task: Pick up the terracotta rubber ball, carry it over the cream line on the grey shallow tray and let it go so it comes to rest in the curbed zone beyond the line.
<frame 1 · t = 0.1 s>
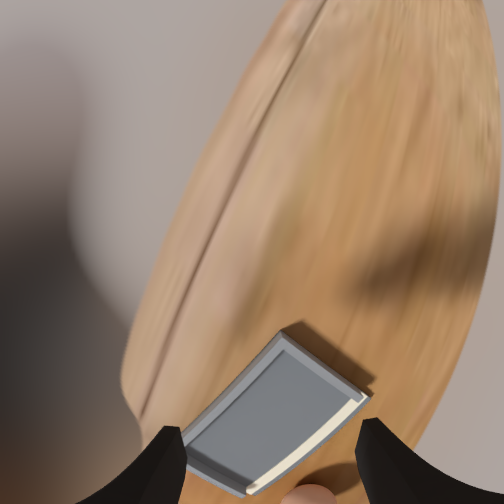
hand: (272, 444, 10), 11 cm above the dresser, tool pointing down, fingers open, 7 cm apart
grey shallow tray: (266, 428, 21), on the dresser
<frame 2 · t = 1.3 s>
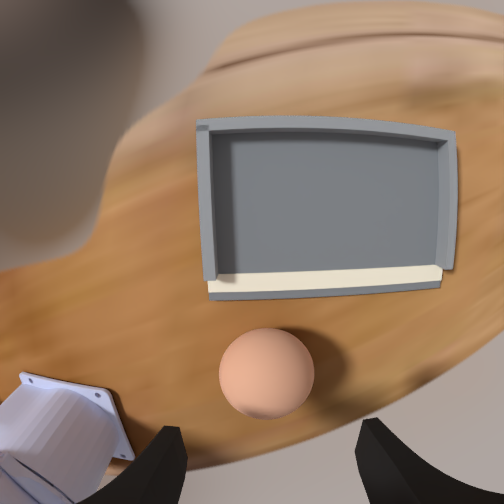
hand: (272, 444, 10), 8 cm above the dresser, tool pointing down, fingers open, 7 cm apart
grey shallow tray: (336, 209, 16), on the dresser
ball: (266, 374, 15), point 2 cm above the dresser
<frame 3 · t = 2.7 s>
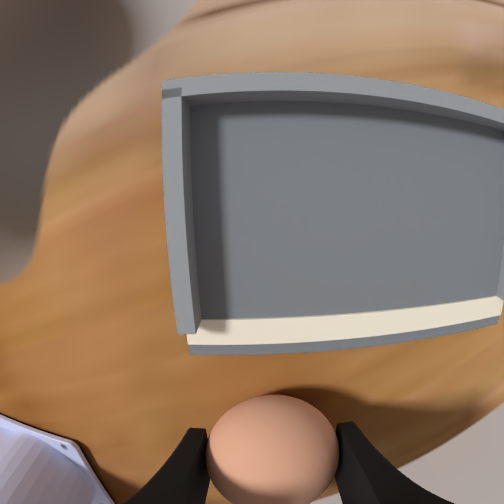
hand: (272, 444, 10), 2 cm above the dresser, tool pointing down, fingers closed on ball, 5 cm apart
grey shallow tray: (379, 222, 10), on the dresser
ball: (272, 455, 10), point 2 cm above the dresser, touching gripper
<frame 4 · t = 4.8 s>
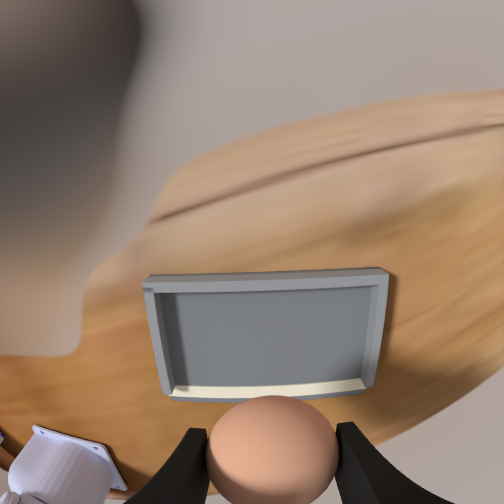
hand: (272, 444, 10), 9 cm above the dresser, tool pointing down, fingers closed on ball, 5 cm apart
grey shallow tray: (267, 342, 19), on the dresser
ball: (272, 456, 10), point 10 cm above the dresser, touching gripper
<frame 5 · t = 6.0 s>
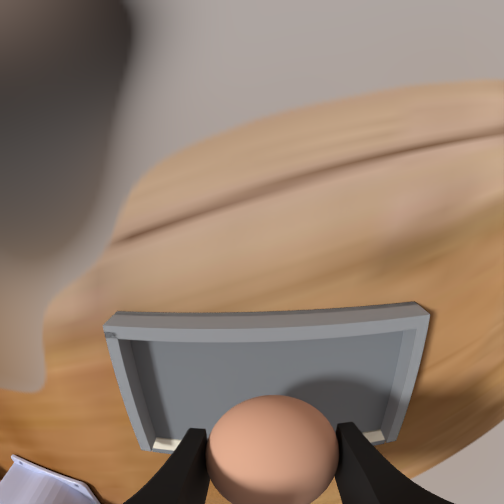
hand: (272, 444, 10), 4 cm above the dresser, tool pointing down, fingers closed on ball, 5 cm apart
grey shallow tray: (269, 395, 14), on the dresser
ball: (272, 455, 10), point 4 cm above the dresser, touching gripper
when the fingers open (4 cm above the dresser, at t = 6.7 s): ball drops 2 cm, resting on grey shallow tray.
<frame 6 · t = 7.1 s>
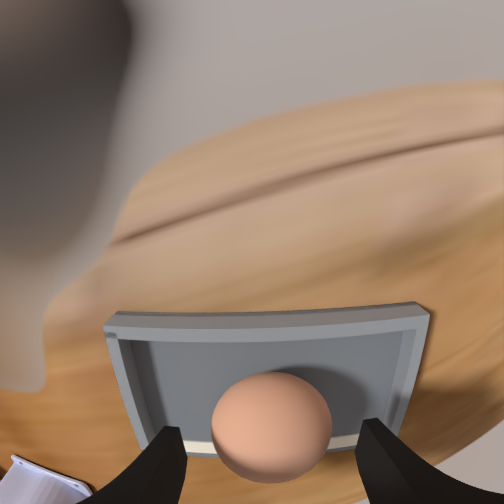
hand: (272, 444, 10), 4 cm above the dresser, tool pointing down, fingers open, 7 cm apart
grey shallow tray: (269, 395, 14), on the dresser
ball: (271, 428, 11), point 3 cm above the dresser, touching grey shallow tray
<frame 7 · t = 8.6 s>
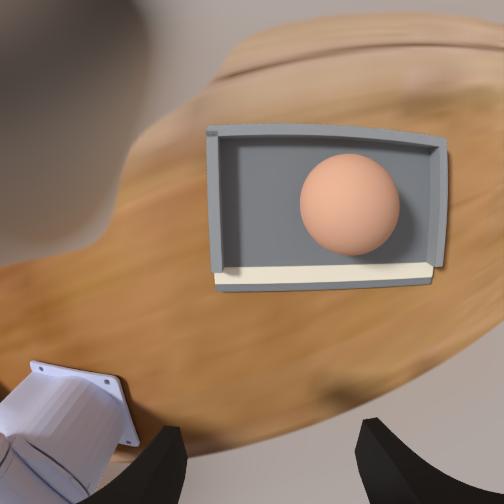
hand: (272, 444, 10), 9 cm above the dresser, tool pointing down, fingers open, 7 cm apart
grey shallow tray: (333, 209, 17), on the dresser
ball: (350, 204, 14), point 3 cm above the dresser, touching grey shallow tray
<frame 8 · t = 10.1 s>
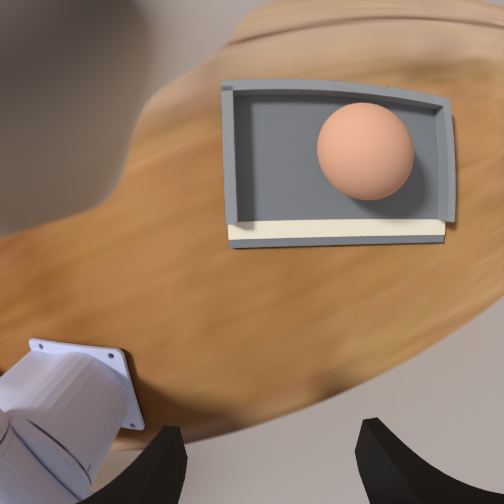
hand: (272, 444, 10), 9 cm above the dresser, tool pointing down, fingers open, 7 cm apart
grey shallow tray: (346, 164, 17), on the dresser
ball: (365, 151, 14), point 3 cm above the dresser, tilted 5°, touching grey shallow tray
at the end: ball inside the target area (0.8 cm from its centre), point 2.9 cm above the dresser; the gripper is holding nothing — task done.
